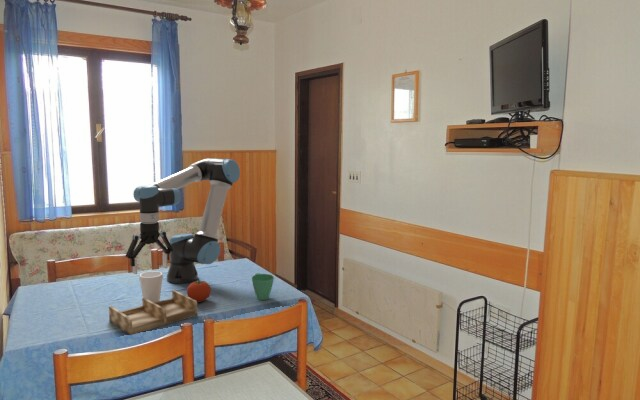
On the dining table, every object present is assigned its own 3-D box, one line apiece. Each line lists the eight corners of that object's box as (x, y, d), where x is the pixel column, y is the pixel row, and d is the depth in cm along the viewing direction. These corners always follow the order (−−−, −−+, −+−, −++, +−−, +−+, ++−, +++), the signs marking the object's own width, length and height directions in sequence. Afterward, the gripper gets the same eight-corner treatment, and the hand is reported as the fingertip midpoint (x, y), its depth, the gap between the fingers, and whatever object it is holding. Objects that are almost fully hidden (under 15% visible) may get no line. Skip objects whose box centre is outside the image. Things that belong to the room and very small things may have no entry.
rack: (109, 321, 179) (108, 306, 178) (174, 303, 199) (174, 290, 199) (129, 335, 167) (129, 319, 166) (197, 315, 187) (196, 301, 186)
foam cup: (139, 307, 193) (138, 278, 191) (140, 300, 202) (139, 272, 200) (163, 305, 196) (162, 276, 194) (163, 298, 205) (162, 270, 203)
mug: (276, 300, 206) (276, 279, 204) (255, 303, 202) (255, 281, 200) (266, 290, 219) (266, 270, 218) (246, 292, 215) (246, 272, 214)
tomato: (214, 303, 201) (213, 281, 200) (190, 307, 196) (190, 284, 194) (206, 295, 210) (206, 274, 208) (184, 299, 204) (183, 278, 203)
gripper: (124, 226, 182) (125, 278, 185) (180, 220, 201) (181, 267, 203) (116, 224, 188) (117, 274, 190) (172, 217, 206) (172, 263, 208)
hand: (150, 270), depth 197 cm, fingers open, 13 cm apart
